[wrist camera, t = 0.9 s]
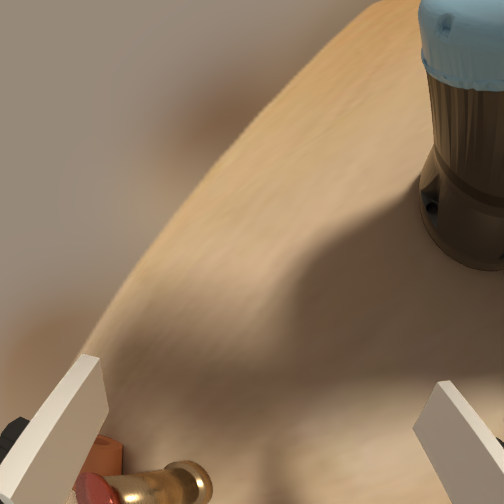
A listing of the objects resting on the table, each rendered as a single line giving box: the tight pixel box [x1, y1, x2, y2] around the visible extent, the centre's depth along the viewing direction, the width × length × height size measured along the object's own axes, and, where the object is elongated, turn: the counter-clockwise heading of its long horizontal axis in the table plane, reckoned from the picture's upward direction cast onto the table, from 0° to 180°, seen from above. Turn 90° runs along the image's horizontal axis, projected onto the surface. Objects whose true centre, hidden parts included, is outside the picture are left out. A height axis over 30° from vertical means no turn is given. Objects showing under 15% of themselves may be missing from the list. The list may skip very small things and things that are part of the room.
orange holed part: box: [72, 435, 123, 491], centre depth 34 cm, size 20×8×8 cm, turn 83°
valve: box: [75, 461, 213, 504], centre depth 23 cm, size 6×6×14 cm
